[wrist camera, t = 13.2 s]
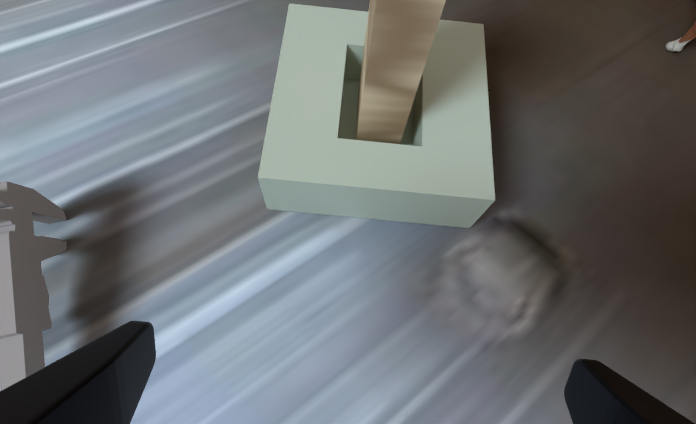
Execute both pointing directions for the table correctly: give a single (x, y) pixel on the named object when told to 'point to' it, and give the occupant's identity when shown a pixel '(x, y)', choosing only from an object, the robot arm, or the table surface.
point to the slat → (393, 65)
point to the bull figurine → (682, 40)
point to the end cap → (376, 157)
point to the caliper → (24, 280)
